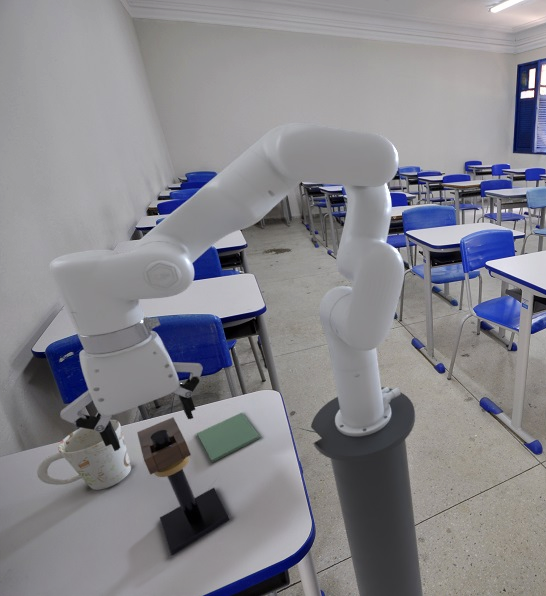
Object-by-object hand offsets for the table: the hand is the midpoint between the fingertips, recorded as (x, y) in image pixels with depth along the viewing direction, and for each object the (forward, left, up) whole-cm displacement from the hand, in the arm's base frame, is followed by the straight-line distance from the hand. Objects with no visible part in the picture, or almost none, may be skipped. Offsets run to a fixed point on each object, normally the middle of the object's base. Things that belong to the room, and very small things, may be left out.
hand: (154, 429), depth 61 cm
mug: (+11, -15, -15) cm, 24 cm away
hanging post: (0, +8, -15) cm, 16 cm away
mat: (-10, -10, -15) cm, 20 cm away
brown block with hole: (0, +4, -2) cm, 4 cm away
